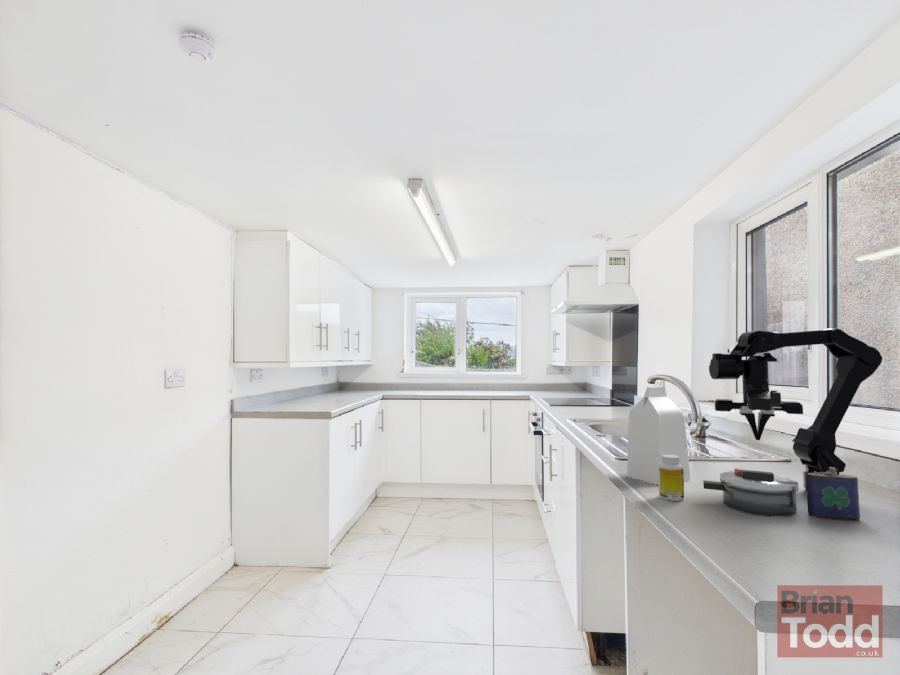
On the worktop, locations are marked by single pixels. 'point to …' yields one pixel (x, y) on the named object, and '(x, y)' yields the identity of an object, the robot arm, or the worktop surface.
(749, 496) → the cooker pot
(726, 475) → the cooker lid
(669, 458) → the supplement bottle
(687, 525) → the worktop surface
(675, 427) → the milk
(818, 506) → the flask
